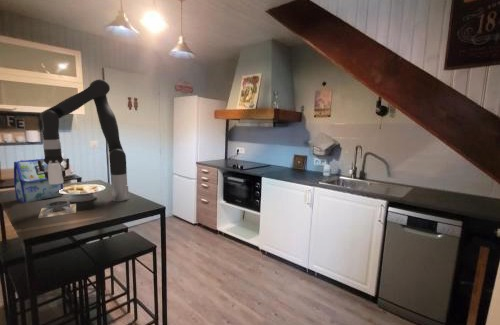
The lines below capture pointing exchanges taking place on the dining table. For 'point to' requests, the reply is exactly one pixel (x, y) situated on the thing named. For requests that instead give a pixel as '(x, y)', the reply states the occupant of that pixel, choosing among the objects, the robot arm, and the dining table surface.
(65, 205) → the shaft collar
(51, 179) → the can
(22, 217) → the dining table surface
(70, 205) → the shaft board
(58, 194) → the lunch bag
